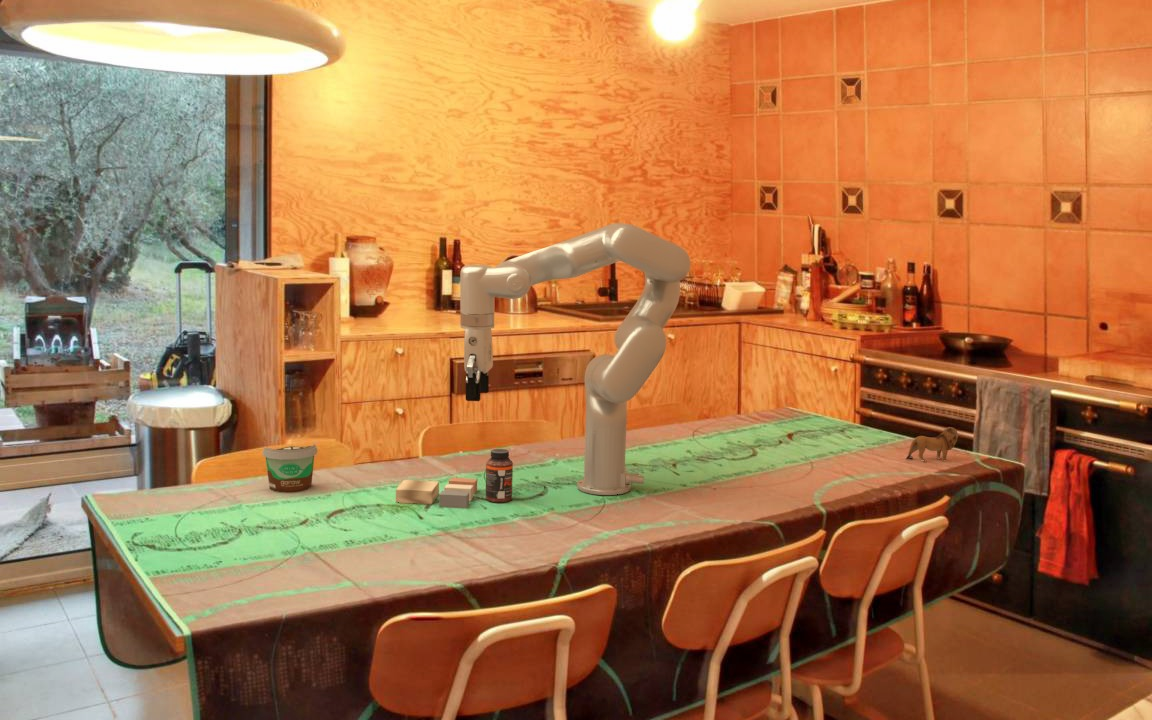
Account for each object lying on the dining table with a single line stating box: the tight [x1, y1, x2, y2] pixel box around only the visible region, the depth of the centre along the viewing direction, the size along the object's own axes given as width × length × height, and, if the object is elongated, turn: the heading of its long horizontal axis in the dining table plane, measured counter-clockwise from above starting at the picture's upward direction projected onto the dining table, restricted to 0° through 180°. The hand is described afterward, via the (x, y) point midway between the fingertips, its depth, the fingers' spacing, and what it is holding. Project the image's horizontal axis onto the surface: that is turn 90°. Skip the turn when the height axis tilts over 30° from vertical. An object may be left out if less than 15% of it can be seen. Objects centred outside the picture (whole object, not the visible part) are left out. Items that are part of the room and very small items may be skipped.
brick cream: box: [443, 483, 474, 502], centre depth 237 cm, size 6×3×3 cm, turn 85°
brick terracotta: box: [448, 477, 478, 495], centre depth 242 cm, size 6×3×3 cm, turn 84°
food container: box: [261, 441, 318, 494], centre depth 239 cm, size 12×6×10 cm, turn 117°
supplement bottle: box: [485, 448, 514, 504], centre depth 236 cm, size 6×6×11 cm
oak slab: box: [395, 479, 440, 505], centre depth 236 cm, size 8×8×3 cm
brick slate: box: [438, 490, 470, 509], centre depth 232 cm, size 6×3×3 cm, turn 85°
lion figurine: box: [905, 426, 959, 461], centre depth 284 cm, size 15×5×9 cm, turn 103°
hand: (477, 396), depth 237 cm, fingers open, 9 cm apart
